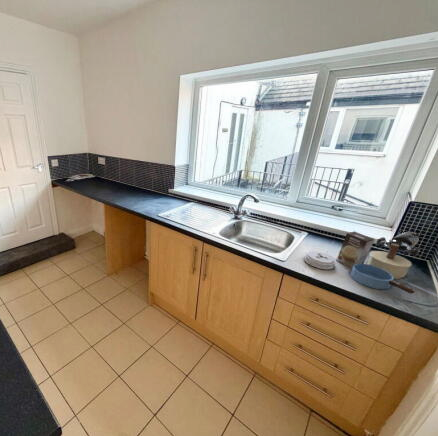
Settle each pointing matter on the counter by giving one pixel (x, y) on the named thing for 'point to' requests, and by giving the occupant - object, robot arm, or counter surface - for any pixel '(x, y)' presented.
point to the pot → (389, 268)
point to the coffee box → (354, 249)
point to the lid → (320, 259)
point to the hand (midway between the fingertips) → (392, 249)
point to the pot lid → (390, 257)
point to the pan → (375, 277)
